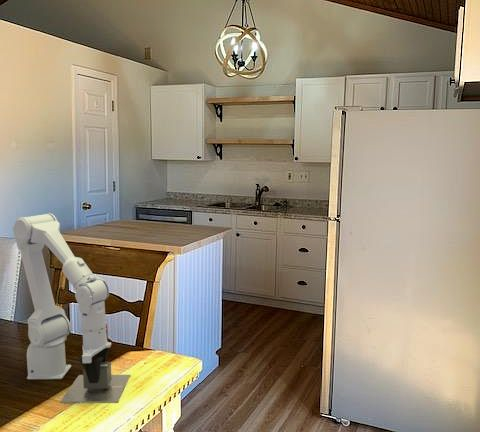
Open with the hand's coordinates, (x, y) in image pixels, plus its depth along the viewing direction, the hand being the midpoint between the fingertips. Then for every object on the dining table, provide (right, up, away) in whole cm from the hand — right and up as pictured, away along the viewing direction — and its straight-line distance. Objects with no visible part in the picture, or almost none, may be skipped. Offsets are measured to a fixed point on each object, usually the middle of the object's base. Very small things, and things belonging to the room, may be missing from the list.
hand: (96, 377), depth 127 cm
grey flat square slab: (0, -3, 0) cm, 3 cm away
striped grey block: (0, -2, 0) cm, 2 cm away
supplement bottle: (-6, 0, +22) cm, 23 cm away
